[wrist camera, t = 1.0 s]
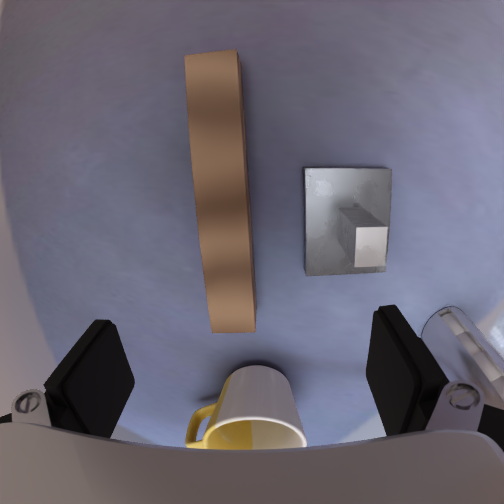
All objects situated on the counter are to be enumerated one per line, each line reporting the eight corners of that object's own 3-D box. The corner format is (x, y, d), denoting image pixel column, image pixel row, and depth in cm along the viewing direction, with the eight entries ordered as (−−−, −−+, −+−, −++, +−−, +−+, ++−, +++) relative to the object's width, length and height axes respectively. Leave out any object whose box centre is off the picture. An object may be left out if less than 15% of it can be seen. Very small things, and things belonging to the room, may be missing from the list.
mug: (291, 341, 34) (297, 410, 25) (305, 400, 38) (313, 466, 28) (177, 360, 36) (154, 425, 26) (206, 415, 39) (193, 476, 30)
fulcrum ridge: (303, 167, 28) (317, 177, 21) (385, 167, 28) (423, 179, 20) (304, 269, 31) (315, 311, 24) (380, 266, 31) (410, 303, 23)
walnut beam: (197, 68, 25) (184, 55, 21) (240, 63, 25) (236, 49, 21) (218, 306, 34) (211, 333, 29) (256, 305, 33) (255, 332, 29)
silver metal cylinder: (413, 349, 35) (497, 519, 11) (432, 304, 32) (551, 472, 9) (451, 350, 35) (539, 496, 11) (471, 308, 32) (585, 449, 9)
